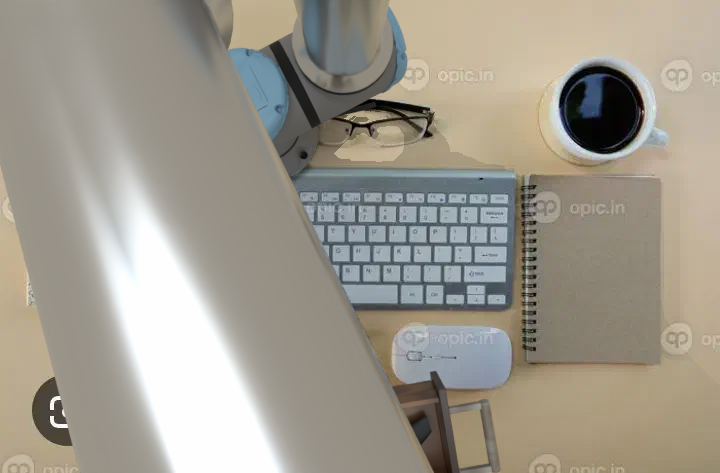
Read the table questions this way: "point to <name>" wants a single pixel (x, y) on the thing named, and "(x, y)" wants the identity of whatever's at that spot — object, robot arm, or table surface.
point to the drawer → (445, 425)
